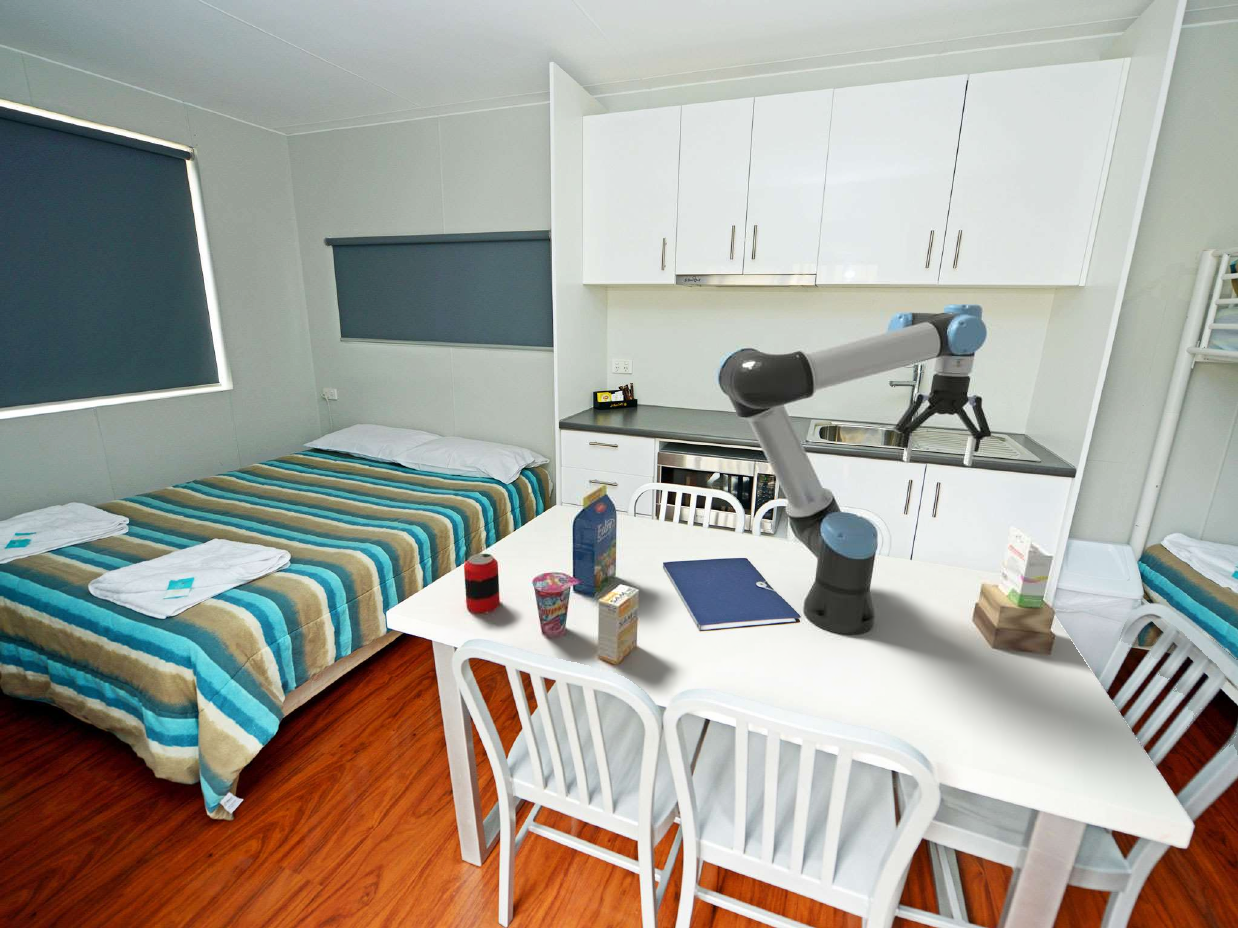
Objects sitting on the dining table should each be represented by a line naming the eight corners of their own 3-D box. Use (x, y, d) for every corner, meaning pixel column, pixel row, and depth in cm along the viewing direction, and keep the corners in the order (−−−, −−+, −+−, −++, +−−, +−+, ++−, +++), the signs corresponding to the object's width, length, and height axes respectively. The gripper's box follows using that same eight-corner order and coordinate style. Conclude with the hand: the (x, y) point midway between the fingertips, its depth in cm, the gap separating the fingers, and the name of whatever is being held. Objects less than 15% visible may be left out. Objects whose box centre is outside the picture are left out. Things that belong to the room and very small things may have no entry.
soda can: (506, 601, 136) (504, 555, 132) (486, 617, 129) (483, 568, 126) (480, 594, 139) (477, 549, 135) (459, 609, 132) (456, 562, 129)
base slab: (991, 649, 121) (996, 628, 119) (971, 621, 131) (975, 602, 130) (1049, 656, 119) (1055, 635, 117) (1024, 627, 129) (1029, 608, 128)
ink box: (1043, 608, 118) (1058, 542, 114) (1016, 606, 118) (1031, 540, 114) (1021, 588, 126) (1035, 526, 122) (996, 587, 127) (1009, 524, 123)
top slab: (996, 627, 120) (1001, 605, 119) (977, 603, 129) (981, 583, 128) (1049, 633, 118) (1055, 611, 117) (1027, 608, 128) (1031, 588, 126)
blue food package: (572, 591, 141) (571, 495, 134) (594, 571, 151) (595, 481, 144) (594, 597, 138) (595, 500, 131) (616, 576, 149) (617, 485, 142)
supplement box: (617, 666, 113) (618, 606, 109) (597, 657, 115) (597, 599, 112) (638, 645, 120) (640, 589, 116) (618, 638, 122) (619, 582, 118)
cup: (541, 646, 119) (540, 594, 115) (528, 625, 126) (526, 576, 123) (582, 634, 123) (582, 584, 120) (567, 616, 130) (567, 568, 127)
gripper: (898, 373, 130) (884, 463, 136) (1019, 378, 126) (1000, 470, 132) (890, 370, 137) (877, 455, 143) (1004, 374, 133) (986, 462, 139)
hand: (936, 462), depth 138 cm, fingers open, 13 cm apart
